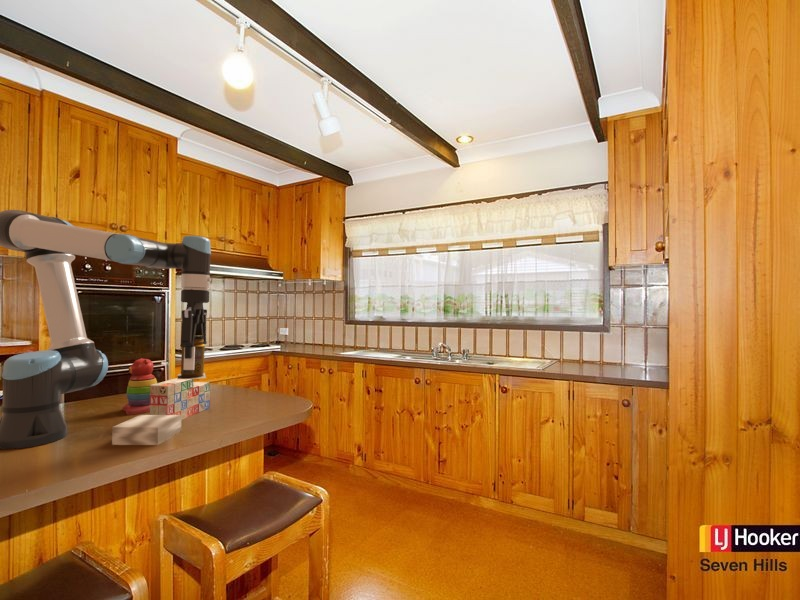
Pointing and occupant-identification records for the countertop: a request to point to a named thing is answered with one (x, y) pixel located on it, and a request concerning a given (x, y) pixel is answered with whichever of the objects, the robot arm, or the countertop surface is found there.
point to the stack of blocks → (179, 397)
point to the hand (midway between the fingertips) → (193, 367)
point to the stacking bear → (139, 387)
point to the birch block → (146, 430)
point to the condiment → (199, 361)
